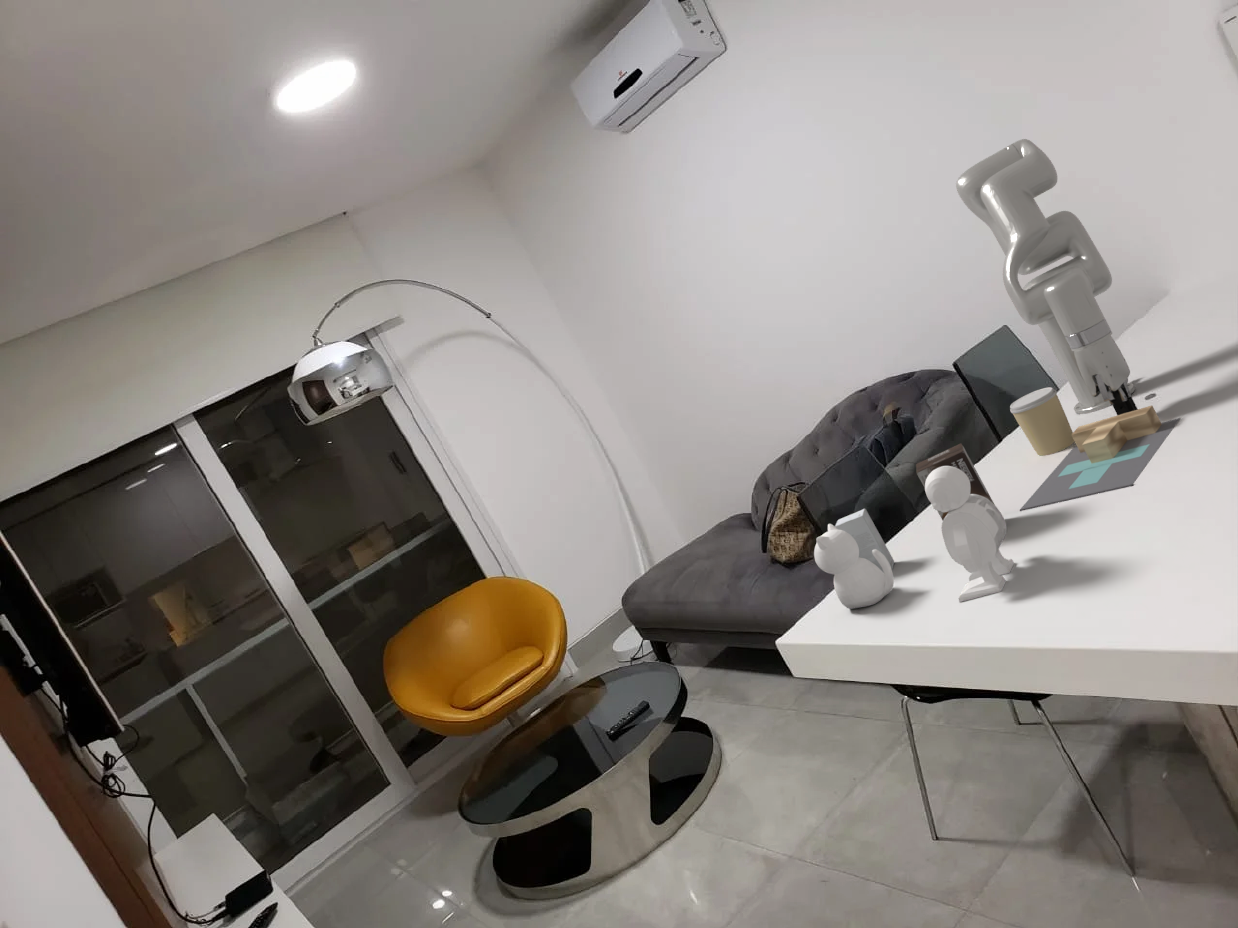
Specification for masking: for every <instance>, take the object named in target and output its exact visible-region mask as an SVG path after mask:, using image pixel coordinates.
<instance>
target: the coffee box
mask: <svg viewBox="0 0 1238 928" xmlns="http://www.w3.org/2000/svg"><path fill="white" fill-rule="evenodd" d="M941 466H952V467H956V468H958V469H960V470H961V471H963V472H964V473H965V474H966V475H967V477H968V479H969V481H970V487H971V489H970V494H977V495H981V496H983V497H985V498H987V499H988V500H990V501H991V502H992V503H993V504H994V505H995V502H994V500H993V499H992V497H991V495H990V494H989V491H988V489H987V488H986V485H985V484H984V482H983V480H982V479H981V477H980V475H979V473H978V471H977V469H976V468H975V466H974V463H973V462H972V460H971V458H970V457H969V454H968V453H967V451H966V449H965V447H964V445H963V444H962V442H961V443H959V444H957V445H954V446H951V447H950V448H948V449H945V450H943V451H941V452H939V453H937V454H935V455H932V456H930V457H928V458H926V459H924V460H922V461H919V462H917V463H916V464H915V467H916V469H915V470H916V471H915V472H916V475H917V476H918V479H919V480H920V482H921V484H922V485H923V487H924V488H925V482H926V479H927V477H928V475H929V474H930V473H931V472H932V471H933V470H935V469H937V468H939V467H941ZM995 506H996V505H995ZM936 511H937V513H938V516H939V517H940V519H941V520H942V521H943V520H944V518H945V517H946V515H947V514H948V512H949V511H948V512H941V511H938V510H936Z"/></svg>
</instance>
